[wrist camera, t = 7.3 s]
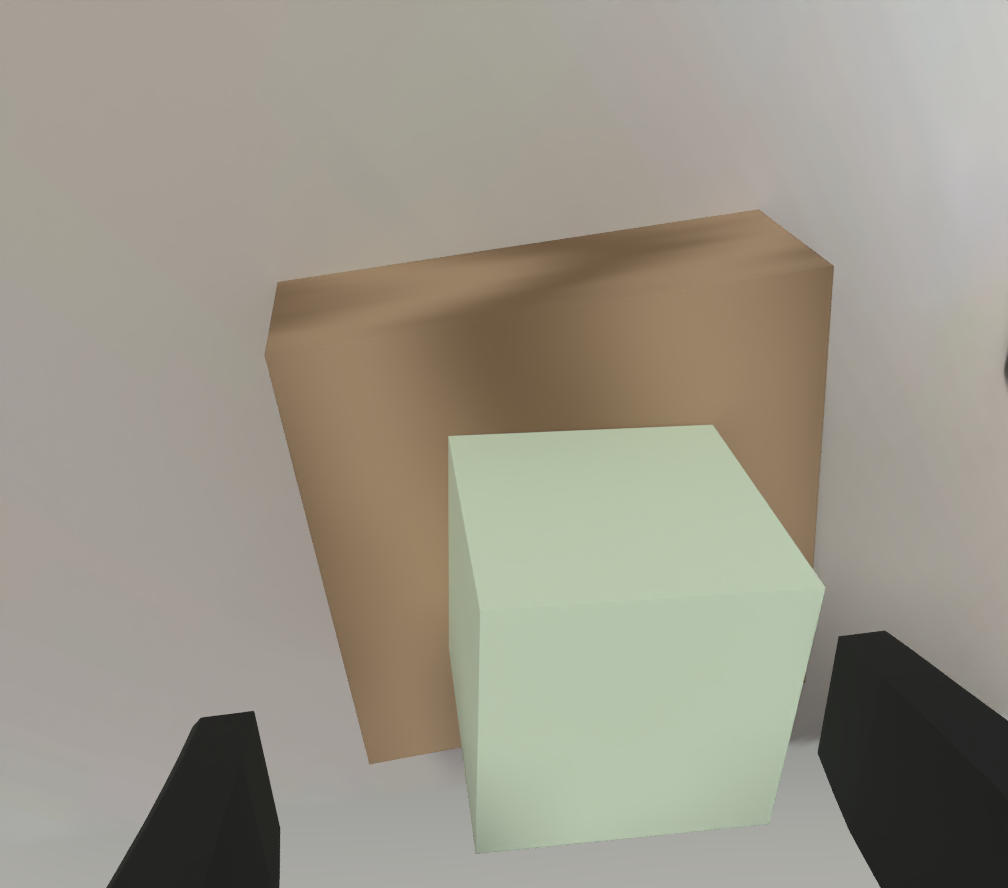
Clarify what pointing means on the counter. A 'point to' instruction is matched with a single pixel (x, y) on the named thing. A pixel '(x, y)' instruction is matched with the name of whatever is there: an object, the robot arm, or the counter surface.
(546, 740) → the sage cube
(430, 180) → the counter surface
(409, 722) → the walnut block
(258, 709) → the counter surface
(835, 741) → the robot arm
